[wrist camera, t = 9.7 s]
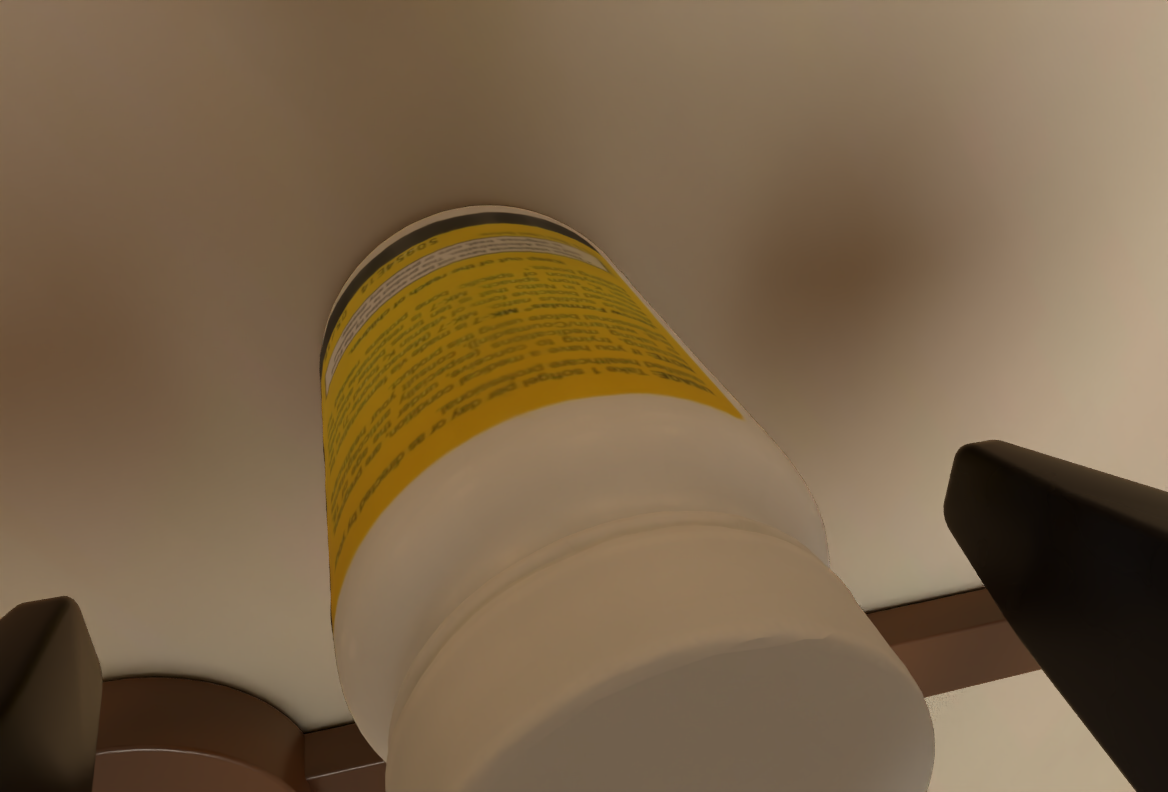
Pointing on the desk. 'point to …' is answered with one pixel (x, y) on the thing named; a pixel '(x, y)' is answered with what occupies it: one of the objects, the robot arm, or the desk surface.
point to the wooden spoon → (357, 773)
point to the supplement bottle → (578, 542)
